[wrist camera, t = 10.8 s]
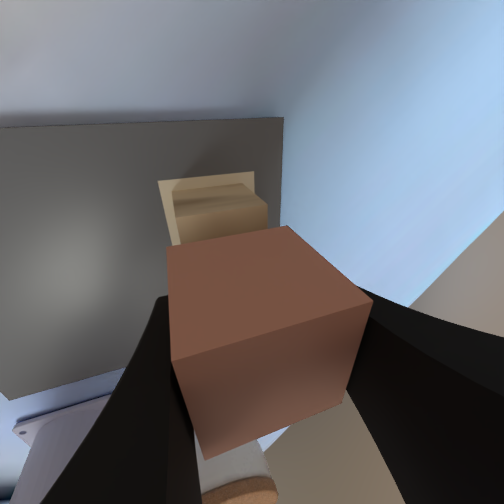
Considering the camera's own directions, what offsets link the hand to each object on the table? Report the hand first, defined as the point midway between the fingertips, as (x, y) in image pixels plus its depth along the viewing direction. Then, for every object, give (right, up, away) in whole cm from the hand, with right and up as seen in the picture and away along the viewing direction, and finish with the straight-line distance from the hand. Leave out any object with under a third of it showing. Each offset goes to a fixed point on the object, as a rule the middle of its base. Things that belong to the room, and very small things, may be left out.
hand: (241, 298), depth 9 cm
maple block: (-2, +4, +7) cm, 8 cm away
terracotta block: (0, 0, +1) cm, 1 cm away
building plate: (-8, +1, +8) cm, 11 cm away
